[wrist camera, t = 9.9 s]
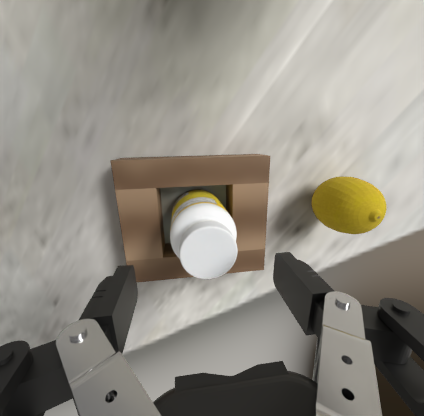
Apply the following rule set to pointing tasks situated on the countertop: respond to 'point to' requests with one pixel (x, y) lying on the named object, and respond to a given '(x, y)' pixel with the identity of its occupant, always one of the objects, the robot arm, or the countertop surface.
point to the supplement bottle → (203, 234)
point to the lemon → (348, 205)
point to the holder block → (171, 189)
